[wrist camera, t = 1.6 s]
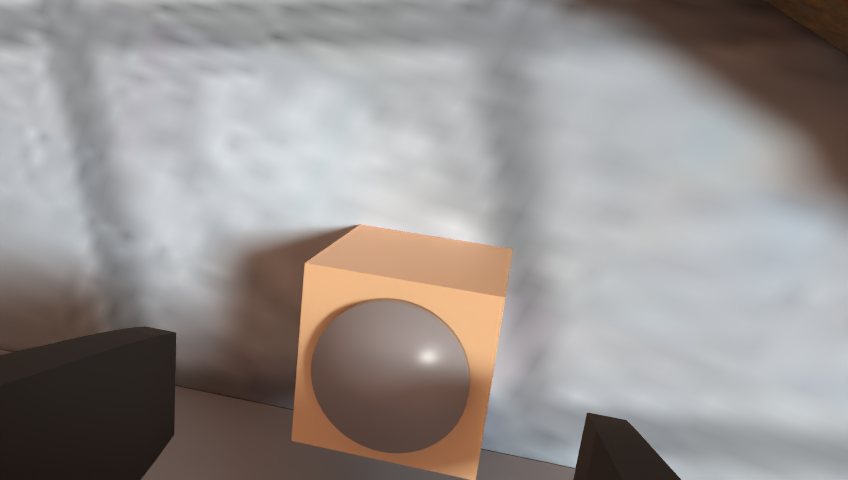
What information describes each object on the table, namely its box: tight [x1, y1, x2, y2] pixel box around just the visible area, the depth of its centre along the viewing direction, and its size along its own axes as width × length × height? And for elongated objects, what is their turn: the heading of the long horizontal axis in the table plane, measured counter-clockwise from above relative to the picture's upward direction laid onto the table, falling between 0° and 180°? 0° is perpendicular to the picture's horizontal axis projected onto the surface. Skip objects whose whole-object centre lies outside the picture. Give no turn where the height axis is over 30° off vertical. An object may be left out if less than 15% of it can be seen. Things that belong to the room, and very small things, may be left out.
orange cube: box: [291, 225, 513, 480], centre depth 14 cm, size 4×4×4 cm
